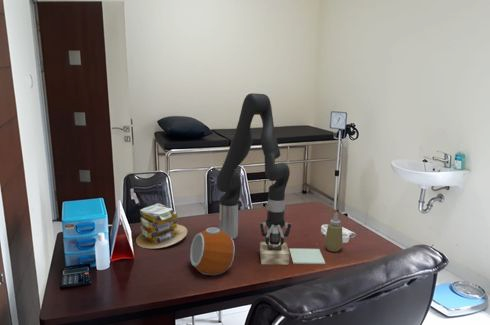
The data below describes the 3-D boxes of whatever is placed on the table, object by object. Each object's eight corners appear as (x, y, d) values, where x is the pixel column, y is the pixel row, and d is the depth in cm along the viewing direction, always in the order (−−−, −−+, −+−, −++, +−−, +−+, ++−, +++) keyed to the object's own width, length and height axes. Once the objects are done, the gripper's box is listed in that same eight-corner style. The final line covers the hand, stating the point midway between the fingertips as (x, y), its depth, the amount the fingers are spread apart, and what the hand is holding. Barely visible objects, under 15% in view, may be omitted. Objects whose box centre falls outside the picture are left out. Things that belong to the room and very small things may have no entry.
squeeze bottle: (332, 254, 182) (334, 217, 178) (321, 247, 189) (323, 211, 185) (345, 251, 185) (348, 215, 181) (334, 244, 192) (337, 209, 188)
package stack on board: (141, 253, 178) (140, 218, 175) (131, 233, 200) (130, 202, 196) (193, 244, 189) (193, 211, 185) (178, 226, 211) (178, 196, 207)
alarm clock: (185, 261, 172) (185, 224, 168) (223, 255, 178) (224, 219, 175) (198, 282, 155) (198, 241, 151) (239, 274, 161) (240, 235, 158)
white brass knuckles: (360, 240, 200) (337, 245, 193) (335, 227, 215) (314, 232, 208) (360, 233, 199) (338, 239, 192) (336, 222, 214) (315, 226, 207)
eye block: (261, 264, 171) (261, 253, 170) (259, 252, 182) (260, 241, 181) (288, 264, 171) (289, 253, 170) (285, 252, 183) (286, 242, 182)
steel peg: (269, 260, 175) (270, 226, 171) (268, 255, 179) (269, 222, 175) (279, 260, 175) (280, 226, 171) (278, 256, 179) (279, 222, 175)
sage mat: (293, 263, 172) (293, 262, 172) (289, 249, 186) (289, 248, 186) (325, 264, 172) (325, 262, 172) (318, 250, 186) (319, 248, 186)
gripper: (259, 211, 168) (258, 248, 172) (293, 211, 168) (291, 248, 172) (259, 205, 175) (257, 241, 179) (291, 206, 175) (289, 241, 179)
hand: (274, 244), depth 175 cm, fingers open, 5 cm apart
